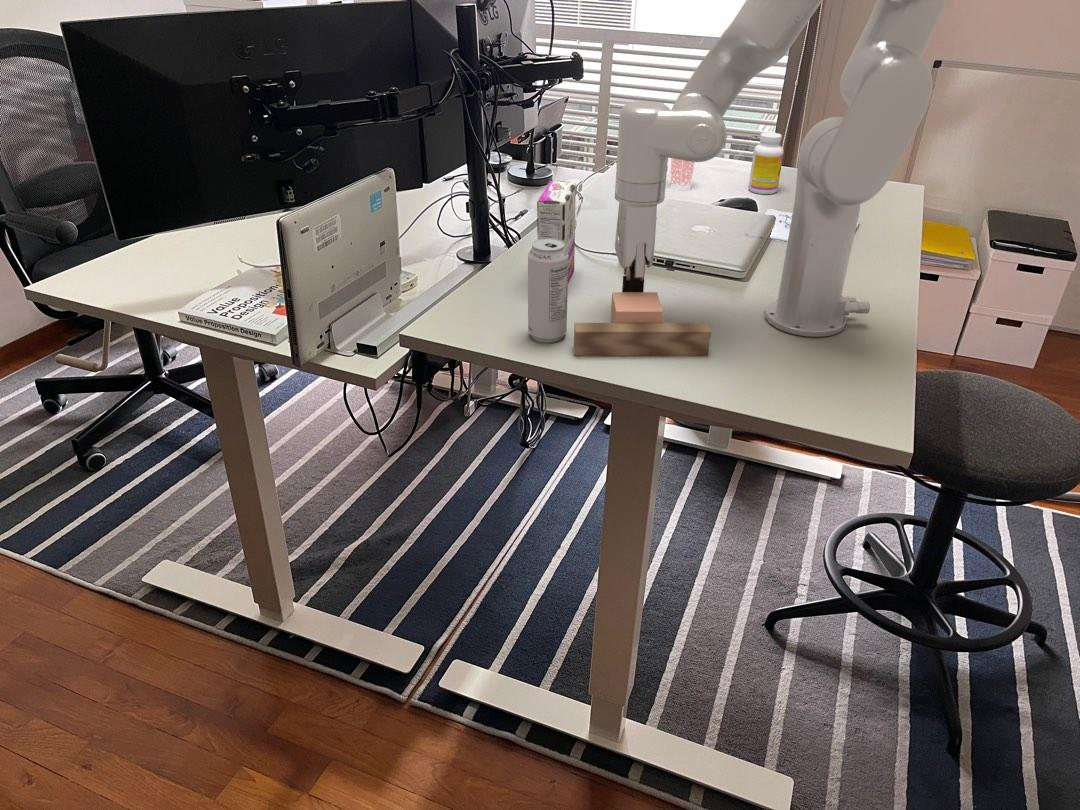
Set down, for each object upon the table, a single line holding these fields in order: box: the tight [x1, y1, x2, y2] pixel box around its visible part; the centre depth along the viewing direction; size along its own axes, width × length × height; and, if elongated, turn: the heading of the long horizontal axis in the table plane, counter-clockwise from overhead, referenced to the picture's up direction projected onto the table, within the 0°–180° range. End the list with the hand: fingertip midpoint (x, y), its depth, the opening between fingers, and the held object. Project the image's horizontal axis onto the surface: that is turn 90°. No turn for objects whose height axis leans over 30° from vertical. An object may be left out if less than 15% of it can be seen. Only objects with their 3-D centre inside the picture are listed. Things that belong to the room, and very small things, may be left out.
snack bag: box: [764, 208, 861, 243], centre depth 171 cm, size 19×20×2 cm
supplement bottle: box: [748, 131, 785, 195], centre depth 190 cm, size 7×7×13 cm
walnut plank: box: [573, 322, 712, 357], centre depth 124 cm, size 20×3×4 cm, turn 91°
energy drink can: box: [527, 238, 569, 344], centre depth 125 cm, size 6×6×15 cm
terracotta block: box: [609, 291, 664, 323], centre depth 128 cm, size 7×7×6 cm
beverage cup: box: [670, 158, 696, 192], centre depth 191 cm, size 6×6×14 cm
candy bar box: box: [536, 180, 577, 284], centre depth 143 cm, size 11×5×16 cm, turn 168°
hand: (632, 300), depth 134 cm, fingers closed
